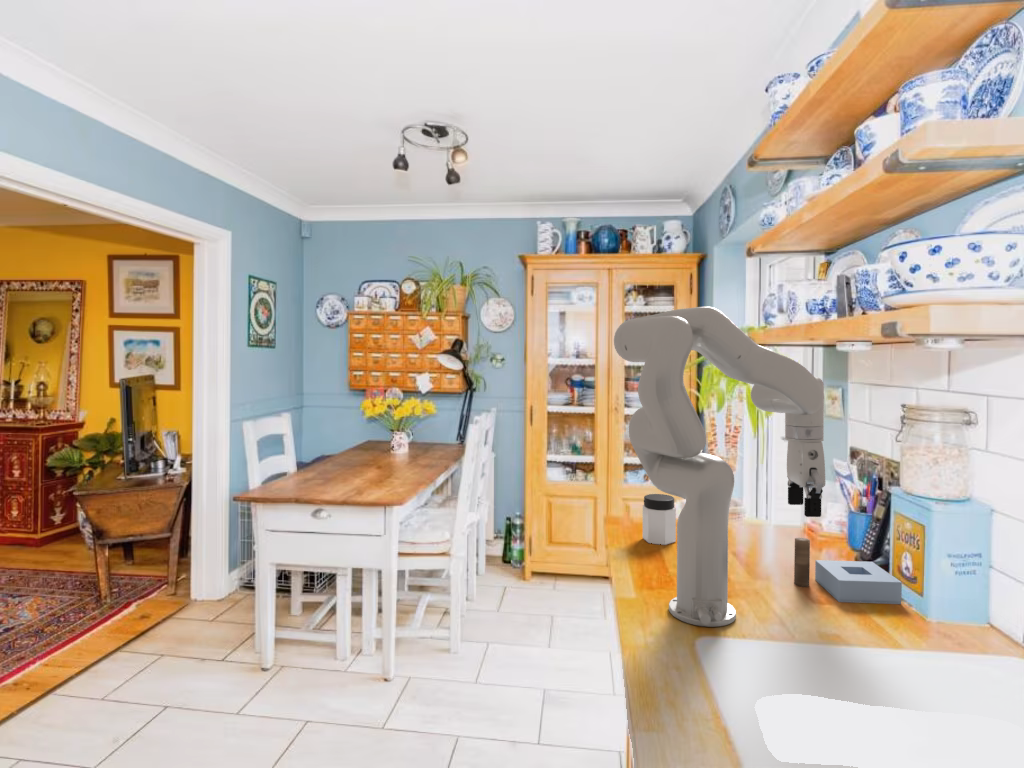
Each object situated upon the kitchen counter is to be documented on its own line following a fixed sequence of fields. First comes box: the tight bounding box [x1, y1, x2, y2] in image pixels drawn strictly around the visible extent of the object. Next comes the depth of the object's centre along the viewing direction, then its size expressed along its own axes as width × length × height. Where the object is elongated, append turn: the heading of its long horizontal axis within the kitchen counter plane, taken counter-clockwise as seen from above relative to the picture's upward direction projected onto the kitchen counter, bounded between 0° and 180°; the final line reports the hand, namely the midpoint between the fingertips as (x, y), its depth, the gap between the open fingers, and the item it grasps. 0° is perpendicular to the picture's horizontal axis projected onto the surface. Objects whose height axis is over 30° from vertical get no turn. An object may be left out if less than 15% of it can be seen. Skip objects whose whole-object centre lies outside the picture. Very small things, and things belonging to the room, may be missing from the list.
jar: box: [642, 493, 677, 546], centre depth 160 cm, size 9×8×12 cm
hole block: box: [814, 559, 903, 605], centre depth 125 cm, size 12×12×4 cm
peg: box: [793, 537, 811, 588], centre depth 129 cm, size 3×3×10 cm
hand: (803, 510), depth 128 cm, fingers open, 9 cm apart
